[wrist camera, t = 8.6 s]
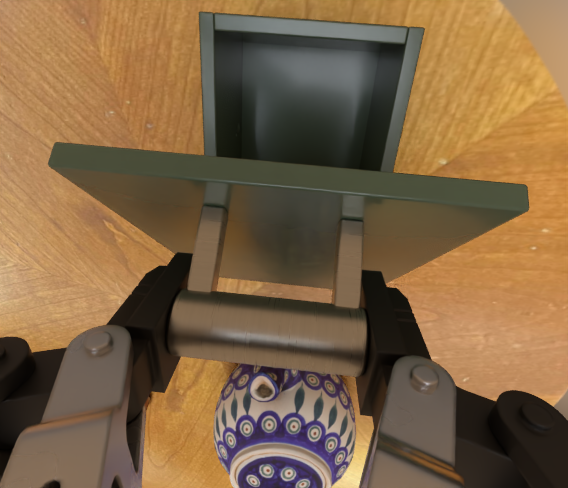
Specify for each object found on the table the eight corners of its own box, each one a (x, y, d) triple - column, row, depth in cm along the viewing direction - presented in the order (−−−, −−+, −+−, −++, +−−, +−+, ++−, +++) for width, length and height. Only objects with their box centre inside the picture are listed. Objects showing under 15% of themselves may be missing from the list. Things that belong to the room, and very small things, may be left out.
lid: (53, 140, 8) (-12, 343, 7) (529, 183, 8) (548, 409, 7) (207, 266, 24) (195, 336, 23) (369, 283, 24) (365, 355, 22)
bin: (234, 30, 25) (198, 11, 17) (390, 41, 25) (425, 27, 17) (234, 220, 32) (208, 268, 24) (355, 232, 32) (367, 285, 24)
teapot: (349, 441, 46) (362, 588, 33) (242, 438, 48) (214, 577, 35) (351, 291, 35) (373, 424, 22) (212, 293, 36) (154, 418, 23)
